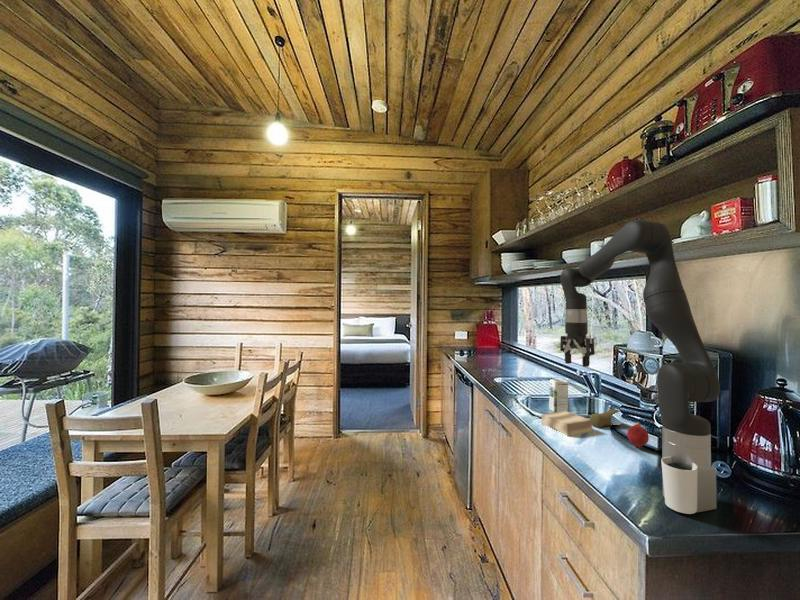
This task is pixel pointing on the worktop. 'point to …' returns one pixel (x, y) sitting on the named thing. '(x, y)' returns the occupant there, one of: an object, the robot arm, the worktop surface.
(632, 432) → the onion
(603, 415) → the cork
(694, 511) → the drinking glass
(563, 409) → the syrup box
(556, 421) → the birch block
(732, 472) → the worktop surface
